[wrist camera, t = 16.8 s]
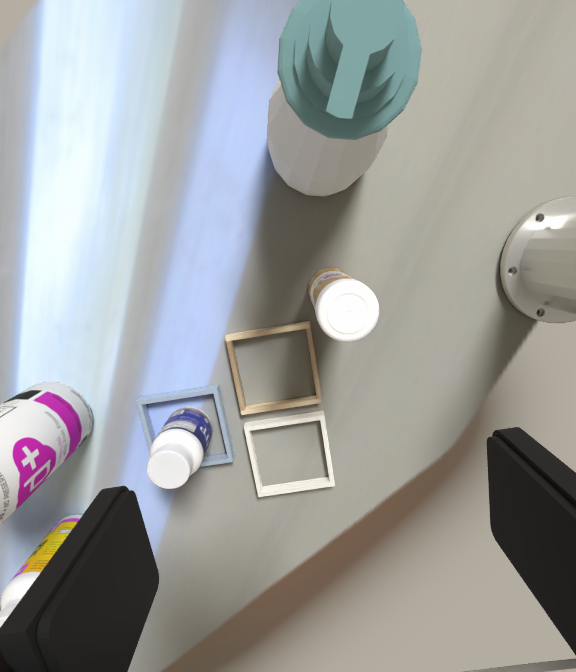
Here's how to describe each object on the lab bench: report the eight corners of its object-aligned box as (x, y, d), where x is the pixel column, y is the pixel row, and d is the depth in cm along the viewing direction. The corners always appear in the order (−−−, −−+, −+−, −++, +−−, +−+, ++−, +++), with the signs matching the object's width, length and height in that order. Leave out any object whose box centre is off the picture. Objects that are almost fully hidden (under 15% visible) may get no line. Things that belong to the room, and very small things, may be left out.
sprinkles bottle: (339, 259, 41) (364, 269, 27) (357, 298, 42) (390, 326, 28) (299, 279, 41) (306, 299, 28) (318, 318, 42) (333, 354, 29)
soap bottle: (257, 182, 39) (220, 107, 17) (283, 73, 36) (280, -183, 14) (352, 209, 39) (439, 172, 17) (383, 105, 37) (529, -94, 15)
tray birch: (309, 320, 42) (310, 323, 41) (321, 398, 44) (322, 402, 43) (226, 334, 42) (225, 336, 41) (242, 410, 44) (241, 415, 43)
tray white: (323, 410, 45) (324, 415, 43) (333, 479, 47) (335, 485, 46) (245, 422, 45) (243, 427, 44) (259, 490, 47) (258, 497, 46)
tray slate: (218, 384, 44) (217, 388, 43) (234, 456, 46) (233, 461, 45) (139, 396, 44) (135, 401, 43) (159, 467, 46) (155, 473, 45)
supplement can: (98, 387, 44) (6, 461, 29) (91, 452, 46) (1, 552, 31) (24, 372, 43) (-108, 440, 29) (20, 439, 45) (-106, 534, 31)
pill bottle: (212, 449, 46) (195, 498, 37) (167, 446, 45) (139, 494, 37) (214, 406, 44) (197, 447, 36) (167, 403, 44) (139, 443, 36)
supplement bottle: (63, 503, 47) (-16, 599, 35) (116, 522, 48) (57, 622, 35) (48, 547, 49) (-33, 653, 36) (100, 564, 49) (37, 674, 37)
